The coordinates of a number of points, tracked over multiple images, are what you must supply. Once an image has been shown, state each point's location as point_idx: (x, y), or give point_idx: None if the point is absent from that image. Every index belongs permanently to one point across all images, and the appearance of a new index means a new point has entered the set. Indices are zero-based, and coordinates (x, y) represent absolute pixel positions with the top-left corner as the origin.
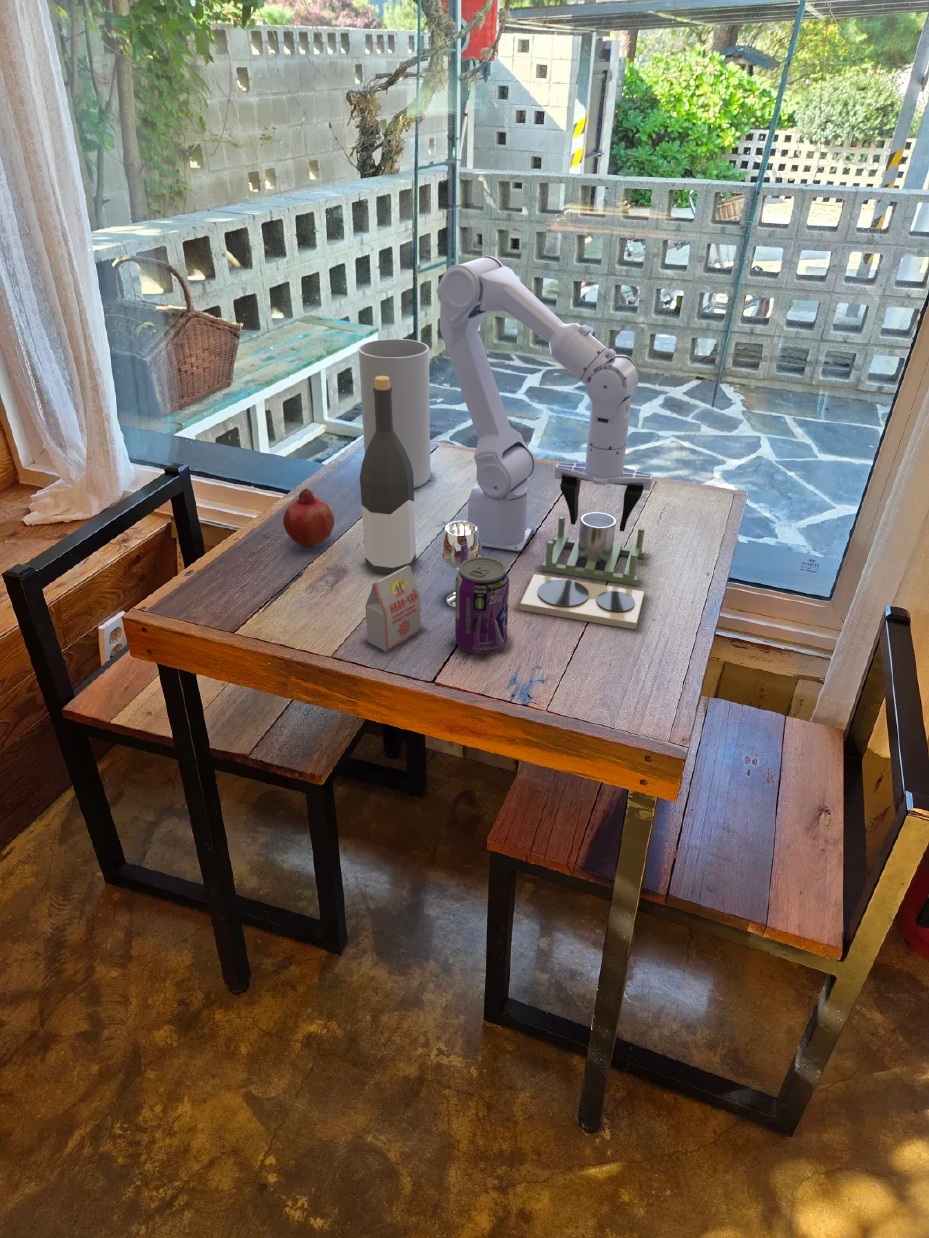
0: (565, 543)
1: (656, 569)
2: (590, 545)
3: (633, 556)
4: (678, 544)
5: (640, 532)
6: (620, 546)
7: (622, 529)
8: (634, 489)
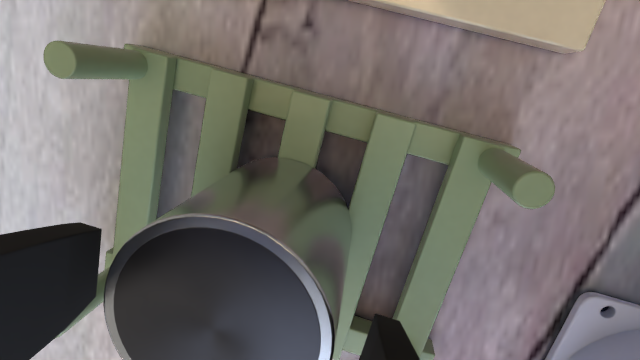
0: None
1: (77, 172)
2: (291, 186)
3: (64, 42)
4: None
5: None
6: None
7: (72, 225)
8: None
